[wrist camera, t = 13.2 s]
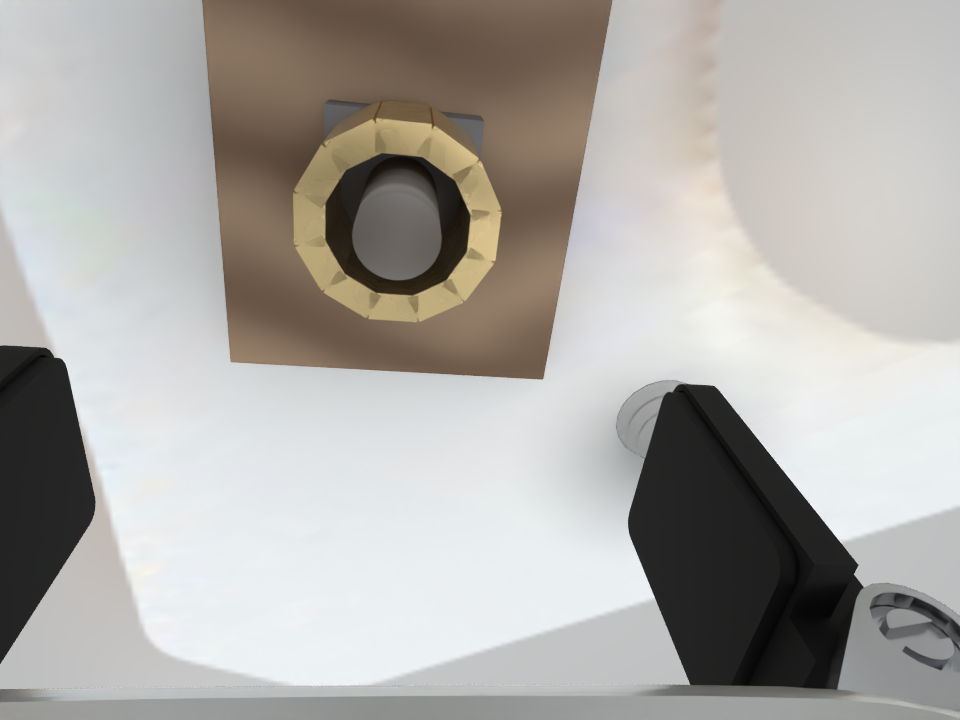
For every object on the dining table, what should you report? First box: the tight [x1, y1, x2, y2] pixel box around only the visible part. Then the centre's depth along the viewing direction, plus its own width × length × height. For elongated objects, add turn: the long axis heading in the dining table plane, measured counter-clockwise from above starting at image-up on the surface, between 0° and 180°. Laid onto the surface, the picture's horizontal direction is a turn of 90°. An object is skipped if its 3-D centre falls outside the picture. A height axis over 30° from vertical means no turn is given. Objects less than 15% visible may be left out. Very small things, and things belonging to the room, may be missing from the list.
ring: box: [293, 99, 502, 322], centre depth 23 cm, size 7×7×5 cm
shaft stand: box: [202, 0, 612, 379], centre depth 24 cm, size 18×15×9 cm
